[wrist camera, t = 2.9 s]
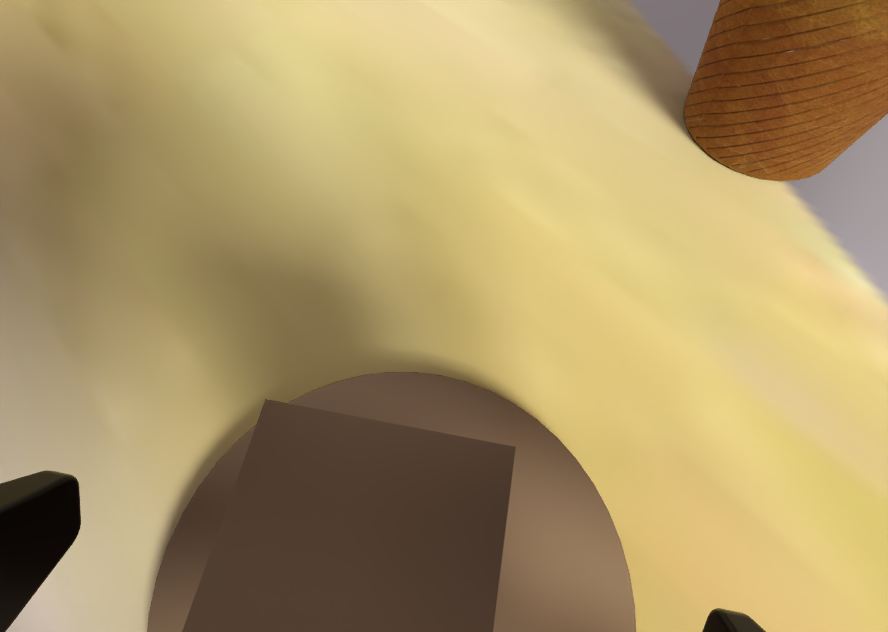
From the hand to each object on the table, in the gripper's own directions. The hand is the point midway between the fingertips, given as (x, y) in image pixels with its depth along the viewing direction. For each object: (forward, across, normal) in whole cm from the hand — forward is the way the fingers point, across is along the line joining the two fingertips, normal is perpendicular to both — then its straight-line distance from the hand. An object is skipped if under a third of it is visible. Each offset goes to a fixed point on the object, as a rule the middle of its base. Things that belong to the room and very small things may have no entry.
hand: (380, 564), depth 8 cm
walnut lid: (+5, 0, +6) cm, 8 cm away
